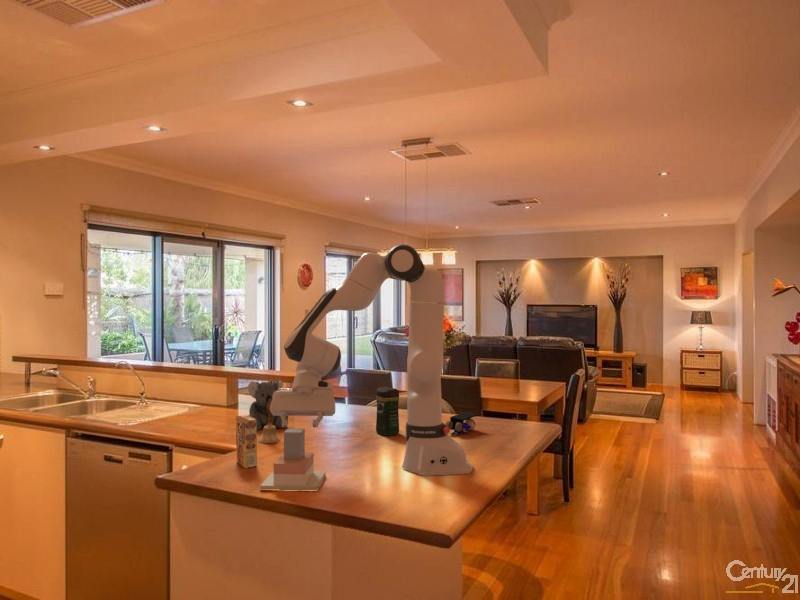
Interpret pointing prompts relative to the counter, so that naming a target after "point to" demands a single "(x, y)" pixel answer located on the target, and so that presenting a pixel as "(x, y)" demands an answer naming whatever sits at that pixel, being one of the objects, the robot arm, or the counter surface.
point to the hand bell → (269, 429)
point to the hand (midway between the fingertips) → (299, 426)
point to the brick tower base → (295, 487)
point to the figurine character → (461, 422)
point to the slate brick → (294, 444)
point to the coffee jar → (387, 411)
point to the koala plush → (263, 402)
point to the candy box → (246, 441)
